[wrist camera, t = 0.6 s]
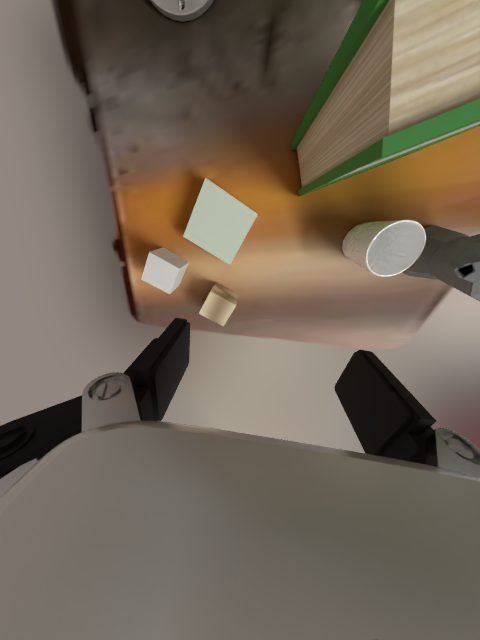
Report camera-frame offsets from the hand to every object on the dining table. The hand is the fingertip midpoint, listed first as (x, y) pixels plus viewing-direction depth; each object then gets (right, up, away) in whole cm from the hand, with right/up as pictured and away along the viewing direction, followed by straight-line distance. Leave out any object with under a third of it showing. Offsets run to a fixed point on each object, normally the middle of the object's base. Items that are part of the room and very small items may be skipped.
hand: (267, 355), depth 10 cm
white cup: (+22, +17, +25) cm, 38 cm away
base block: (-5, +21, +25) cm, 33 cm away
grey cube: (-17, +14, +30) cm, 37 cm away
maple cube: (-6, +7, +33) cm, 34 cm away
